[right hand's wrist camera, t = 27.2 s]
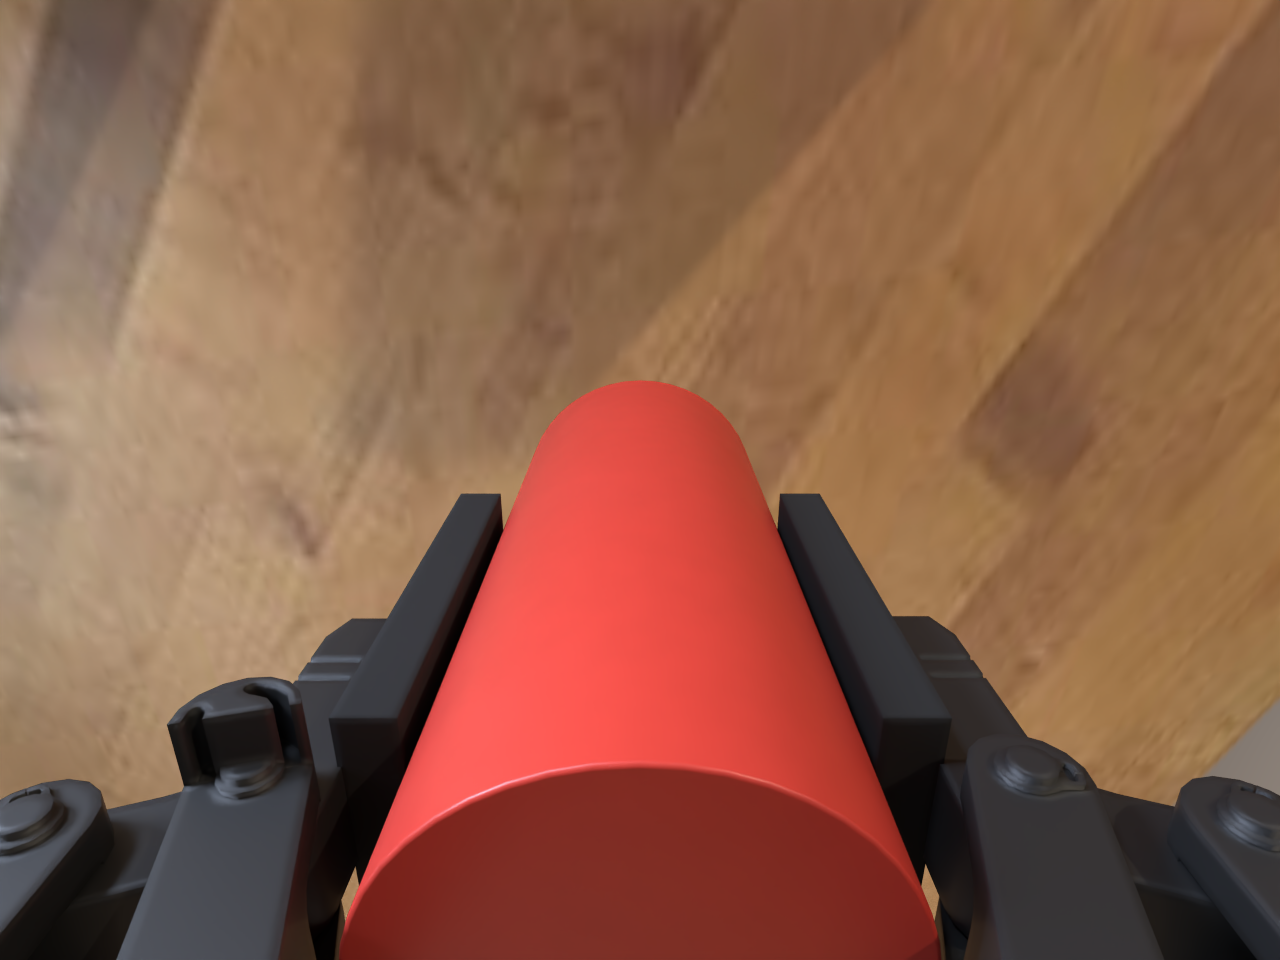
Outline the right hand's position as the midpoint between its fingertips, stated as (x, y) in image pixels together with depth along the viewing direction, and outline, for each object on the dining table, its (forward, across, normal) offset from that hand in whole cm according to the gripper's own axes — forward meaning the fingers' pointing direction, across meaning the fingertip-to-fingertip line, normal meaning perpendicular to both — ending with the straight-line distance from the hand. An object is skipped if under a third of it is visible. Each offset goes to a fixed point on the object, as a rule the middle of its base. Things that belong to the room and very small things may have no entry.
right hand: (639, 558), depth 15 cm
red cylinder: (+4, 0, 0) cm, 4 cm away
